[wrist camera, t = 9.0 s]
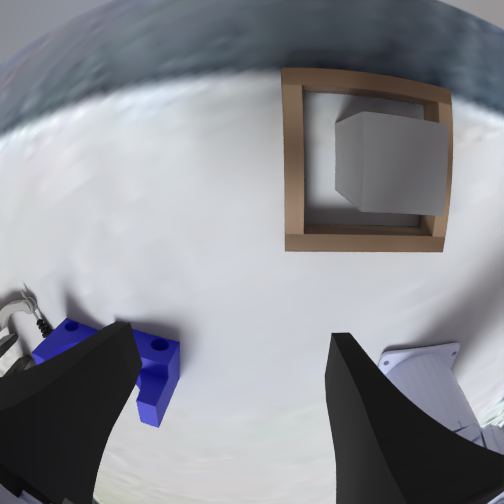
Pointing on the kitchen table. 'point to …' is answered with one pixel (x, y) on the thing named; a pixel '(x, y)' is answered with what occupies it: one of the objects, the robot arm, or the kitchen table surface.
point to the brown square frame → (296, 231)
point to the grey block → (392, 163)
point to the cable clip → (152, 372)
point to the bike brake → (7, 341)
